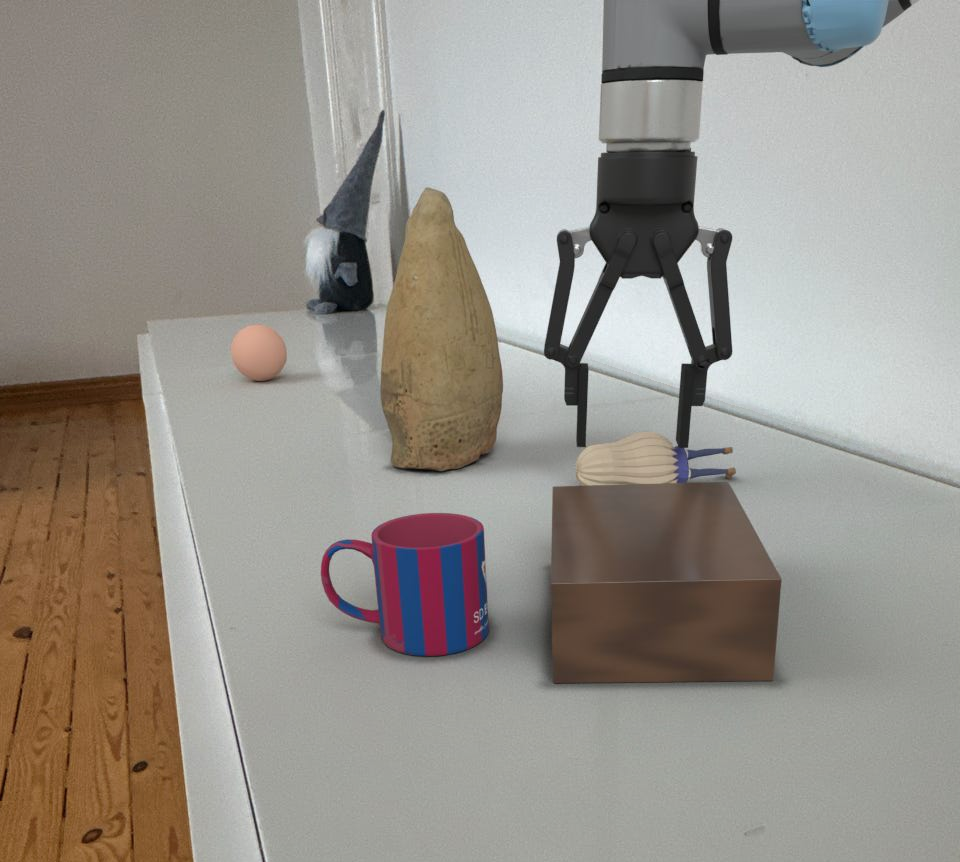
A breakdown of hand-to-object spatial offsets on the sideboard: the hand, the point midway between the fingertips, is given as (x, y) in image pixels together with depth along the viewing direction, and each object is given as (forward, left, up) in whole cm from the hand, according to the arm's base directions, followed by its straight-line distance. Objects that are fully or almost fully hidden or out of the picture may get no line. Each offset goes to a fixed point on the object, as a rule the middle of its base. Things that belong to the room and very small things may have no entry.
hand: (631, 443), depth 86 cm
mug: (+16, +29, -4) cm, 33 cm away
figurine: (-2, 0, -5) cm, 5 cm away
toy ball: (+50, -61, -4) cm, 79 cm away
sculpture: (+18, -13, -4) cm, 22 cm away
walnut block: (+1, +27, -4) cm, 28 cm away
